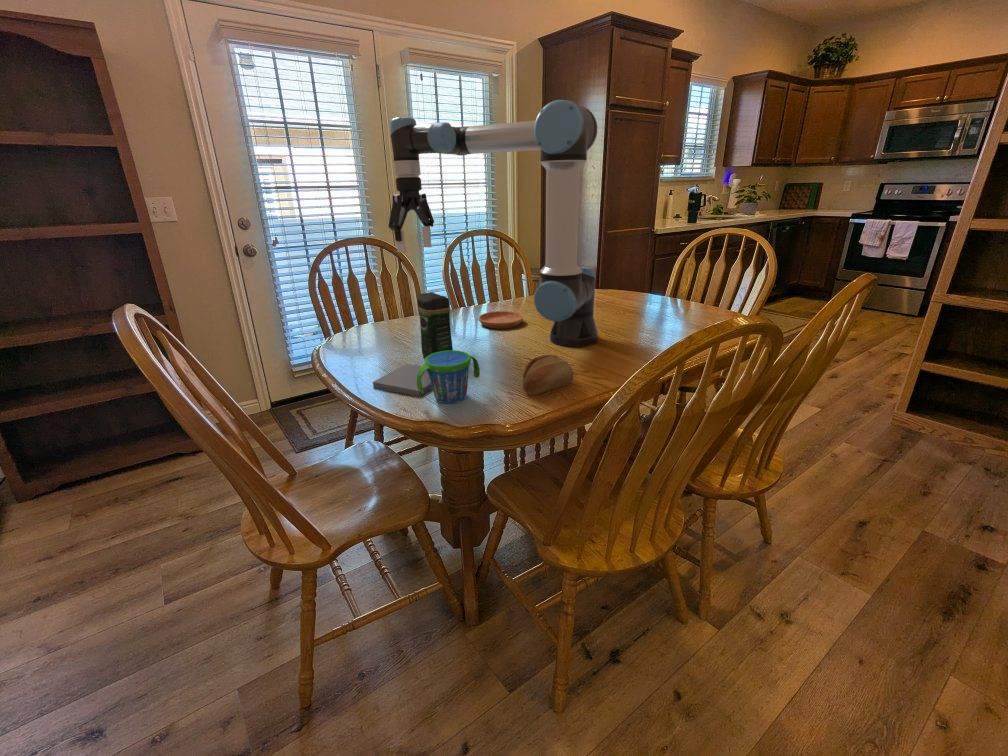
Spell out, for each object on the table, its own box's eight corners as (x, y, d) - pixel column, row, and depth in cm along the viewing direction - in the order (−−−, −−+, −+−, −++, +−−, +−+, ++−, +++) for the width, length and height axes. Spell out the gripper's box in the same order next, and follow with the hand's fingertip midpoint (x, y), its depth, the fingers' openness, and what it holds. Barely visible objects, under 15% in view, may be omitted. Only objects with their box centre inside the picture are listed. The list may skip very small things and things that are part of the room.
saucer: (527, 329, 163) (527, 320, 162) (481, 332, 161) (481, 323, 160) (518, 317, 178) (518, 309, 176) (476, 320, 175) (476, 312, 174)
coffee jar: (457, 357, 137) (453, 294, 130) (433, 363, 133) (427, 298, 126) (441, 349, 144) (437, 289, 137) (418, 354, 140) (412, 292, 133)
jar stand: (450, 376, 124) (450, 370, 123) (419, 396, 112) (418, 390, 111) (407, 368, 129) (406, 363, 129) (373, 387, 118) (372, 381, 117)
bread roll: (511, 391, 114) (510, 360, 111) (553, 374, 123) (553, 346, 120) (539, 403, 108) (540, 371, 104) (581, 385, 117) (583, 354, 114)
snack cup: (426, 414, 103) (422, 371, 100) (411, 397, 112) (407, 356, 108) (490, 398, 110) (488, 358, 106) (471, 383, 119) (469, 345, 115)
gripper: (422, 177, 152) (427, 244, 160) (370, 177, 132) (379, 254, 140) (441, 176, 149) (446, 245, 157) (391, 176, 129) (400, 255, 137)
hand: (415, 249), depth 149 cm, fingers open, 13 cm apart
